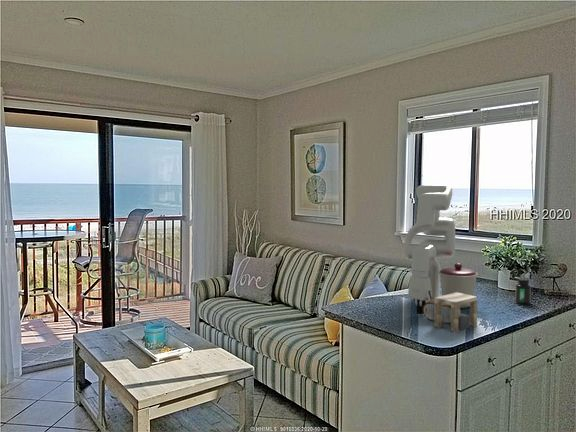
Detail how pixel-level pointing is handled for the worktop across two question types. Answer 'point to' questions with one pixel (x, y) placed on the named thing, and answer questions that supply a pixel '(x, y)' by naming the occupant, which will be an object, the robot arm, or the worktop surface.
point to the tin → (430, 311)
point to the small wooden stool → (456, 310)
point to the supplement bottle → (523, 292)
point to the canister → (458, 281)
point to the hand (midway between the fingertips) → (420, 313)
